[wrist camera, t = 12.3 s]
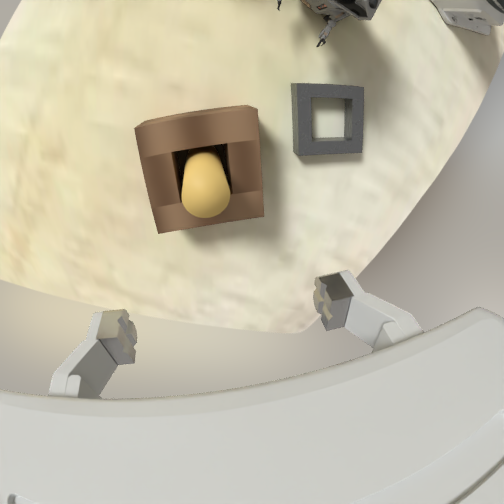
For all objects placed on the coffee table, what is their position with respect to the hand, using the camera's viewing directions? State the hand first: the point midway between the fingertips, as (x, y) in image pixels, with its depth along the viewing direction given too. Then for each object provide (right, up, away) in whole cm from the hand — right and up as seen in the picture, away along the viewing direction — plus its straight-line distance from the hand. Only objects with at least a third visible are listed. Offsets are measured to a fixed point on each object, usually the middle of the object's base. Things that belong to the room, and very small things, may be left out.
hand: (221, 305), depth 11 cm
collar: (+11, +19, +20) cm, 30 cm away
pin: (-5, +13, +21) cm, 25 cm away
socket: (-5, +13, +21) cm, 25 cm away
